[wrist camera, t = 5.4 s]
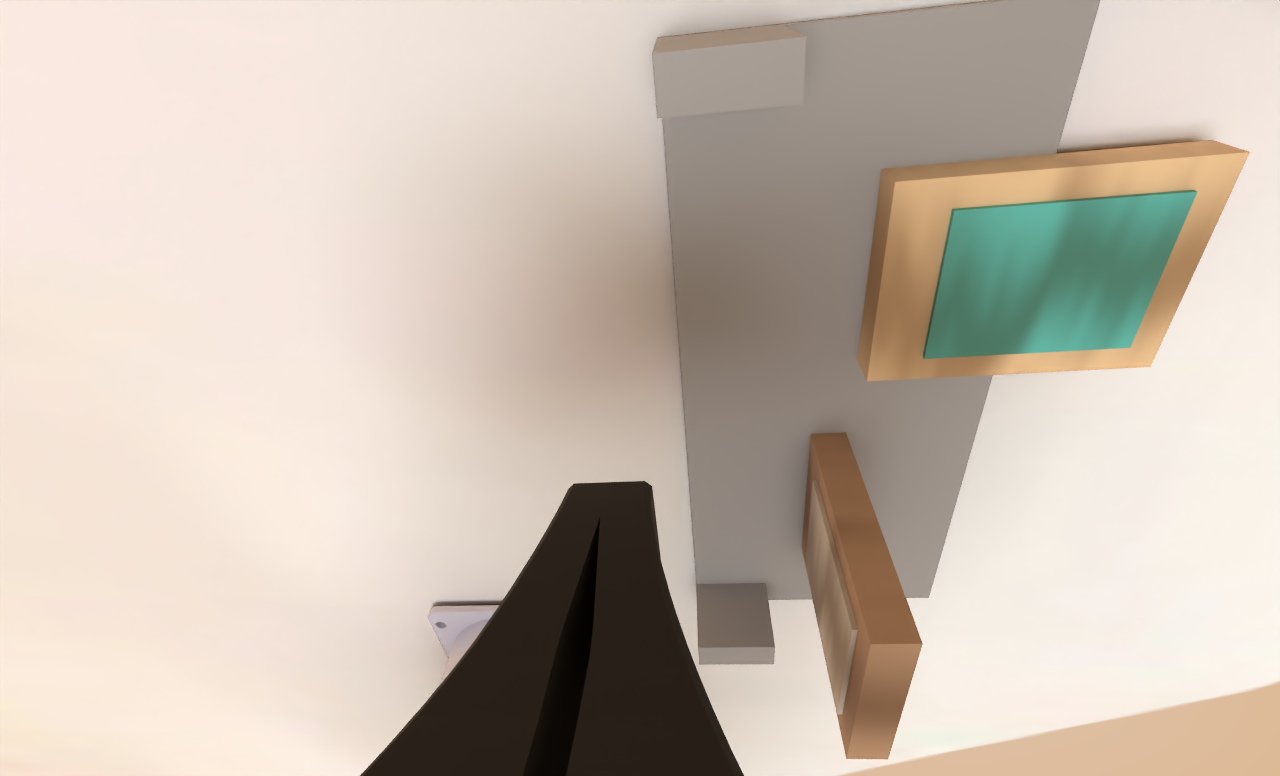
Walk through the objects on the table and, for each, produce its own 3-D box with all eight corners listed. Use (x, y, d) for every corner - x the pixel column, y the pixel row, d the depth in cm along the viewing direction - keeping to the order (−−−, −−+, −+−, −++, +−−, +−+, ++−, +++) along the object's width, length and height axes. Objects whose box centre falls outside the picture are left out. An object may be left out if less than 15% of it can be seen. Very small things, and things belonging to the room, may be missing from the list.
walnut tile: (831, 546, 24) (888, 759, 18) (797, 547, 24) (841, 758, 18) (845, 432, 21) (922, 643, 14) (806, 434, 21) (864, 644, 14)
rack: (924, 587, 26) (955, 663, 23) (697, 591, 27) (699, 664, 24) (1090, -11, 14) (1199, -6, 11) (657, 37, 15) (652, 53, 12)
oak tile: (857, 360, 19) (1125, 345, 18) (868, 384, 18) (1153, 369, 17) (881, 168, 16) (1211, 140, 15) (897, 183, 15) (1254, 153, 14)
